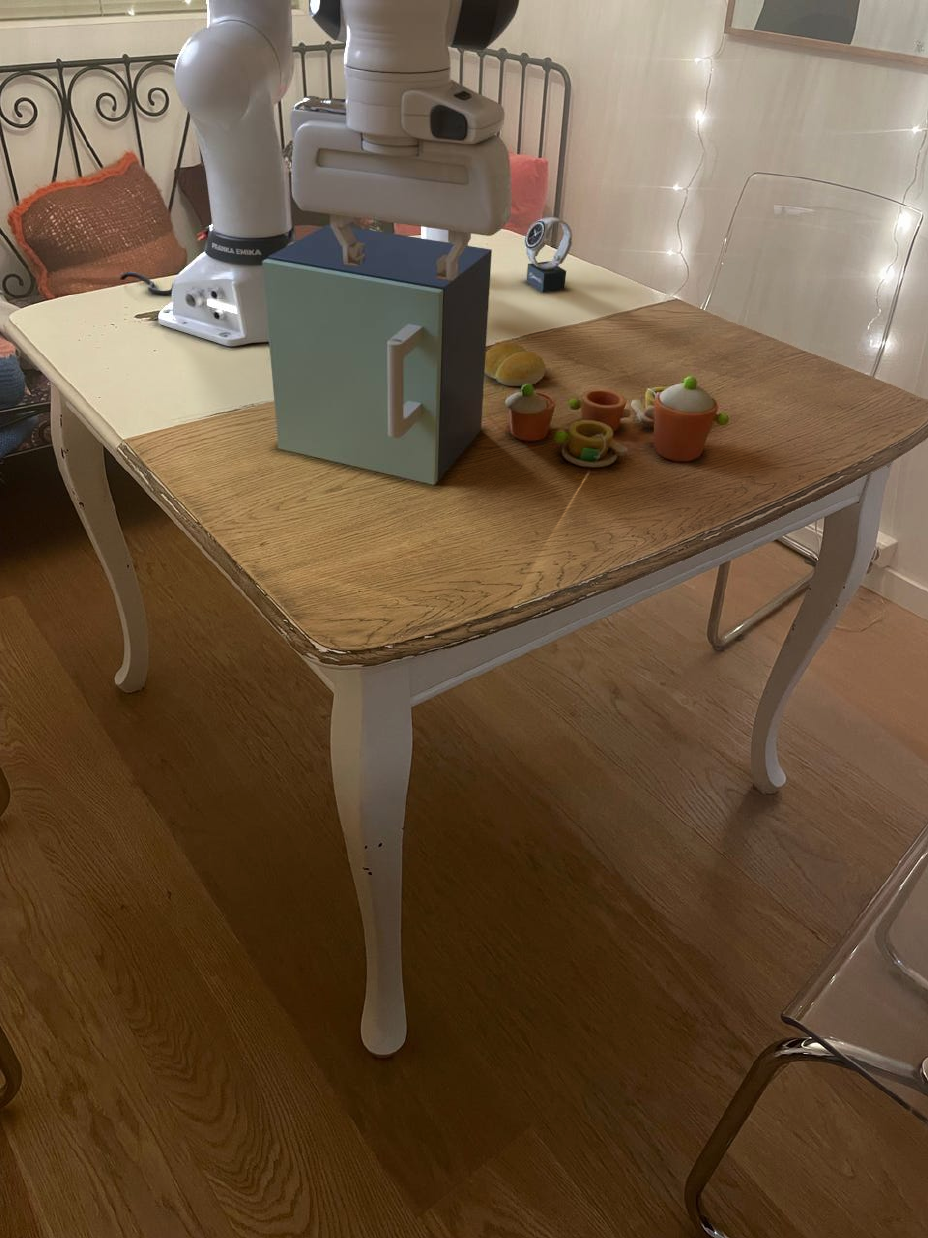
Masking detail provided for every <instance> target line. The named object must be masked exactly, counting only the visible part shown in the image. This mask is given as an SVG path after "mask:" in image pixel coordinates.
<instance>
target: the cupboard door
mask: <svg viewBox="0 0 928 1238" xmlns="http://www.w3.org/2000/svg"><path fill="white" fill-rule="evenodd" d="M262 266H263V278H264V289H265V301H266V312H267V324H268V335H269V342H268V345H269V346H268V347H269V356H270V369H271V379H272V380H271V381H272V391H273V403H274V415H275V425H276V436H277V437H276V438H277V448H278V449H279V450H282V451H288V452H292V453H295V454H300V455H305V456H308V457H313V458H316V459H321V460H325V461H328V462H329V461H330V462H334V463H337V464H343V465H348V466H350V467H356V468H359V469H364V470H368V471H373V472H377V473H382V474H384V475H385V474H386V475H390V476H393V477H398V478H402V479H407V480H412V481H415V482H420V483H424V484H428V485H432V486H435V485H436V484H437V483H438V449H439V415H440V382H441V348H442V314H443V290H442V289H436V288H430V287H425V286H419V285H413V284H408V283H402V282H396V281H391V280H385V279H379V278H373V277H368V276H362V275H356V274H351V273H345V272H339V271H334V270H328V269H322V268H316V267H311V266H305V265H299V264H294V263H288V262H282V261H276V260H271V259H266V260H264V261H262Z"/></svg>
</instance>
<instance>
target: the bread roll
mask: <svg viewBox="0 0 928 1238" xmlns="http://www.w3.org/2000/svg"><path fill="white" fill-rule="evenodd" d="M545 374H546V364H545V361H544V359H543V357H542V356H541V355H540V354H538V353H536V352H532V351H528V349H526V348H525V347H524V346H522V345H520V344H518V343H516V342H511V341H510V342H509V341H504V342H500V343H497V344H495V345H493V346H492V347H491V348H489V349H488V350H486V356H485V372H484V375H486V376H488V377H489V378H491V379H493V380H496V381H497V382H498V383H499V384H502V385H505V386H508V387H522V386H523V385H524V384H531V385H532V386H533V385H535V384H537V383H539V382H540V381H541V380H543V378H544V376H545Z"/></svg>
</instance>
